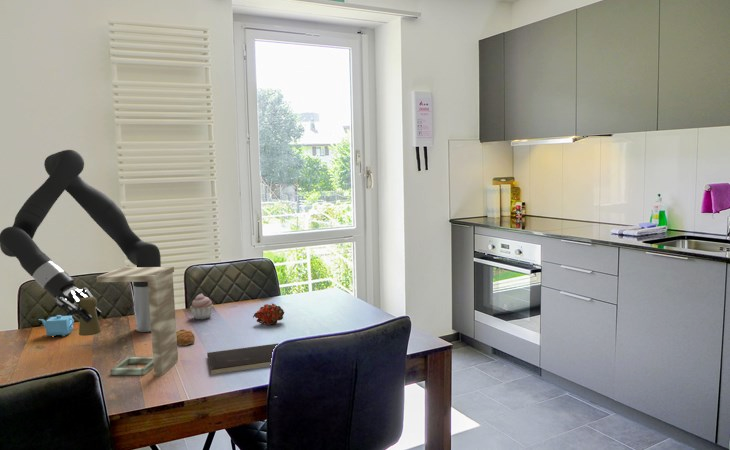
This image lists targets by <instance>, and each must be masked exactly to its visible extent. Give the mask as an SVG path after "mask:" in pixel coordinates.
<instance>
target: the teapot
mask: <svg viewBox="0 0 730 450" xmlns="http://www.w3.org/2000/svg"><path fill="white" fill-rule="evenodd" d="M38 320H39V321H41V322H42V324H43V328H44V329H45V331H46V336H47V337H51V336H56V337H57V336H61V337H62V336H65V335H66V336H67V335H69V334H70V333H71V332H72V331H73V330H74V326H73V325H74V324H75V320H74V318H73V315H61V314H58V315H56V316H50V317H48V319H47V320H45V319H44V318H39V319H38ZM66 336H65V337H66Z"/></svg>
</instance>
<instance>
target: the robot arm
mask: <svg viewBox="0 0 730 450" xmlns="http://www.w3.org/2000/svg"><path fill="white" fill-rule="evenodd" d="M43 164H44V165H43V166H44V169H45V172H46V173H47V175H48V177H47V178H46V180H45V181H44V182H43V183H42V184H41V185H40V186H39V187H38V188H37V189H36V190H35V191H34V192H33V193H32V194H31V195H30V196H29V197H28V198H27V200H26V201H25V202H24V203H23V205H22V206H21V207H20V208H19V211H18V212H17V214H16V215H15V218H14V222H13V224H12V226H8V227H5V228H3V229H2V230H1V231H0V250H1V253H2V254H4V255H5V256H7V257H10V258H16V259H17V260H18V261H19V263H20V266H21V268H22V269H23V270H24V271H25V272H27V274H29V276H31V278H33V279H34V281H35V282H36V283H37V284H38V285H39V286H40V288H42V289H44V291H46V292H47V294H48V295H50V296H51V297H52V299H57V300H56V301H55V302H54V305H56V306H57V307H58V308H60V309H61V310H63V311H64V312H66V313H68V315H69V316H71V315H72V316H73V315H76V316H78V317H79V318H80V317H81V318H82V319H83V320H84V321H85V322H87V323H88V322H90V321H91V320H92V318H93V317H92V316H91V315H90V314H89V313H88V312H87V311H86V310H85V309H83V308H82V307H81V306H80V304H79V303H80V301H79V300H80V299H81V298H84V297H94V295H93V294H92V293H91V291H89V288H87V287H83V288H82V289H81V288H79V287H77V286H76V285H75V283H76V281H75V279H74V278H73V277H72V276H71V275H69V273H68V272H66V271H65V270H64V269H63V268H62V267H61V266H60V265H59V264H58V263H56V262H55V261H53V260H52V258H50V257H49V256H48V255H47V254H46V253H45V252H43V251H42V250H41V249H40V247H39V246H38V245H37V243H36V242H35V241H34V240H33V239H34V236H35V235H36V232H37V230H38V228H39V227H40V226H41V224H42V223H43V221H44V220H45V219H46V217H47V215H48V213H49V212H50V211H51V209H52V208H53V206H54V204H55V203H56V201H58V199H59V198H60V197H61V196H62V194H63V193H64V192H66V193H68V194H69V195H70V196H71V197H72V198H73V199H74V201H76V202H77V204H79V206H80V207H81V208H82V209H83V210H84V211H85V212H86V213H87V214H88V216H89V217H90V219H92V220H93V221H94V222H95V223H96V224H97V225H98V226H99V227H100V228H101V229H102V231H103V232H104V233H105V234H106V235H107V236H108V237H110V238H111V239H112V240H113V241H114V242H115V243H116V245H117V246H118V247H119V249H120V250H121V252H122V253H123V254H124V255H125V257H126V258H127V260H128V261H129V262H130V263H131V264H133V265H134V266H136V267H162V266H161V265H162V263H161V262H162V260H161V258H162V257H161V252H160V249H159V247H158V246H157V245H156V244H154V243H152V242H146V241H144V240H143V239H141V238H140V237H139V236H138V235H137V234H136V233H135V232H134V231H133V230H132V229H131V227H130V225H129V223H128V220H127V218H126V216H125V213H124V212H123V211H122V209H121V208H120V207H119V206H118V205H117V203H116V202H115V201H114V200H113V199H112V198H111V197H110V196H109V195H107V194H106V193H104V192H102V191H100V190H99V189H97V188H95V187H93V186H92V185H90V184H88V183H87V182H86V181H85V180H84V179H83V178H82V176H80V174H82V172H83V171H84V168H85V161H84V157H83V156H82V154H81V153H79V151H77V150H73V149H65V150H61V151H58V152H55V153H52V154H50V155H48V156H47V157H45V159H44V163H43ZM132 287H133V289H132V290H133V301H134V302H133V303H134V314H135V326H136V327H135V329H136V332H140V333H147V332H148V333H149V332H150V333H151V322H150V308H149V293H148V282H132ZM96 311H97V316H98V318H99V317H101V316H102V314H103V312H102V311H101V310H100V309H99V308H98V307H97V306H96Z"/></svg>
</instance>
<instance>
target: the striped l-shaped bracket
mask: <svg viewBox="0 0 730 450" xmlns="http://www.w3.org/2000/svg"><path fill="white" fill-rule="evenodd" d="M174 272H175V267H174V266H161V267H137V266H136V267H135V266H134V267H119V268H116V269H114V270H111V271H108V272H106V273H102V274H100V275H97V276H96V283H131V282H132V283H133V282H148V293H149V308H150V322H151V331H150V336H151V347H152V348H151V349H152V350H151V351H152V356H127V357H125V359H123V360H121V361H120V362H119V363H117V364H116V365H115V366H113V367H112V368H111V369H110V375H113V376H114V375H115V376H118V375H119V376H122V375H123V376H126V375H130V376H132V375H133V376H134V375H136V376H137V375H140V376H141V375H142V376H143V375H144V376H145V375H147V374H148V373H149V372H150V371H151V370H152V369H153V376H155V377H159V376H161V377H162V376H163V375H164V374H165V373H167V372H169V370H170V369H171V368H173V366H174V365H175V364H177V363H178V362H179V351H178V344H177V334H176V332H177V322H176V306H175V305H176V304H175V292H174V291H175V289H174V274H173V273H174ZM130 364H145V365H144V366H143V367H127V366H129V365H130Z"/></svg>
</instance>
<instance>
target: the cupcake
mask: <svg viewBox="0 0 730 450" xmlns="http://www.w3.org/2000/svg"><path fill="white" fill-rule="evenodd" d="M213 308H214V304H213V302H212V300H211V299H210V298H209V297H208V296H205V295H204V294H203V293H199V294H198V295H196V296H195V298H194V299H193V300H192V301H191V305H190V307H189V309H190V310H191V313H192V316H193V318H194V319H195V320H199V319H201V320H207V319H209V318H210V317H211V316H212V311H213V310H212V309H213ZM206 318H207V319H206Z"/></svg>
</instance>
